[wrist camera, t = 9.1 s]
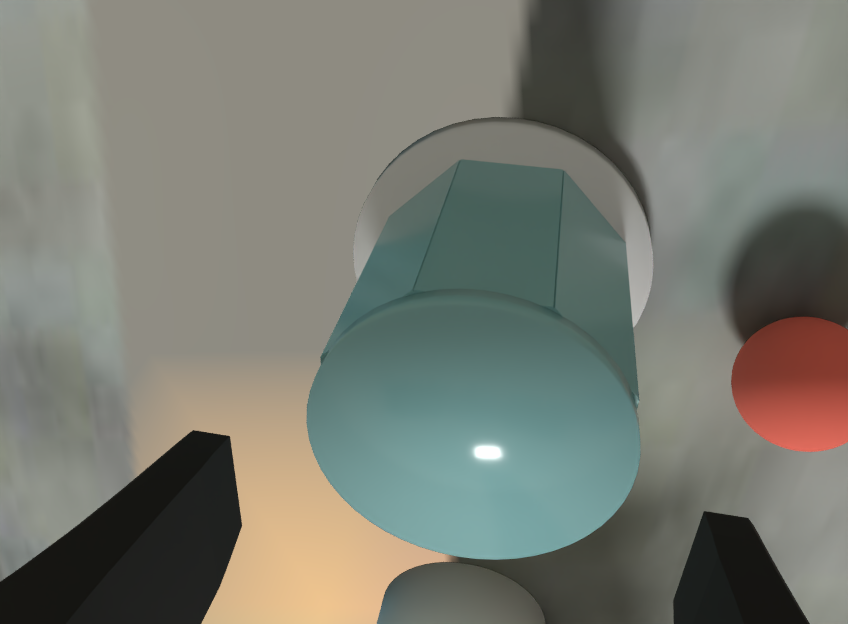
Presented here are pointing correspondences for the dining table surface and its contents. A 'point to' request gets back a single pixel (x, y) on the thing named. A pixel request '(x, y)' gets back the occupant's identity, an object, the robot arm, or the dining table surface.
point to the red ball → (795, 383)
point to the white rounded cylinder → (457, 597)
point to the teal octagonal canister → (485, 369)
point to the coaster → (517, 147)
